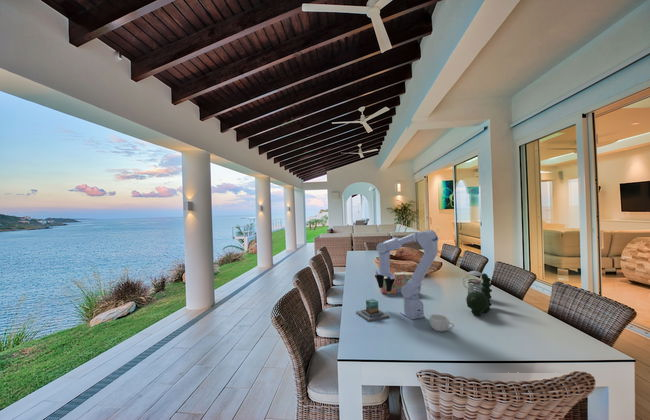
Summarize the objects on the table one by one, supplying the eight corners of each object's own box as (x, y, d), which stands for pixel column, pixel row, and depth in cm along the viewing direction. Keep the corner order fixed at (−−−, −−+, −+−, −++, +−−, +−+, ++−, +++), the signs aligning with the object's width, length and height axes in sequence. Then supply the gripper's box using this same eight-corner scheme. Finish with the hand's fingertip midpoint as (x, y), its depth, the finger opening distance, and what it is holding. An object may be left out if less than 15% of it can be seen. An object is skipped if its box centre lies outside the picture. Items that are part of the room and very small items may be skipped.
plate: (389, 317, 138) (389, 313, 138) (368, 321, 133) (368, 317, 133) (375, 309, 149) (375, 305, 149) (356, 313, 144) (356, 309, 144)
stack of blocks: (381, 294, 175) (381, 274, 175) (380, 291, 182) (379, 272, 182) (415, 293, 175) (415, 274, 175) (413, 290, 181) (412, 271, 181)
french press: (488, 299, 160) (487, 256, 160) (468, 299, 161) (466, 256, 161) (479, 294, 170) (478, 253, 170) (460, 294, 171) (459, 253, 170)
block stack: (378, 314, 140) (378, 301, 140) (370, 315, 138) (370, 302, 138) (373, 311, 144) (373, 298, 144) (366, 312, 142) (366, 300, 142)
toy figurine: (477, 306, 154) (461, 315, 136) (477, 271, 155) (461, 275, 137) (497, 310, 147) (483, 321, 129) (497, 273, 148) (483, 278, 130)
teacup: (427, 330, 123) (426, 317, 123) (434, 324, 128) (433, 312, 128) (450, 336, 116) (450, 323, 116) (456, 330, 121) (456, 318, 121)
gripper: (370, 262, 156) (371, 287, 156) (385, 267, 143) (386, 294, 143) (381, 261, 159) (382, 285, 159) (397, 266, 146) (397, 292, 146)
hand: (384, 289), depth 151 cm, fingers open, 7 cm apart
